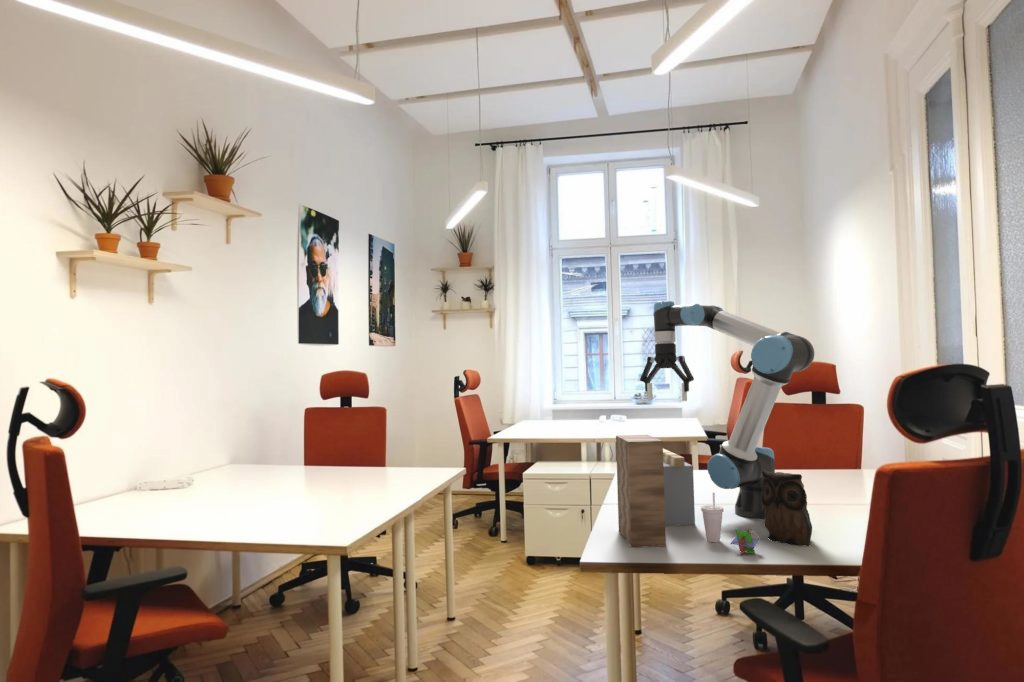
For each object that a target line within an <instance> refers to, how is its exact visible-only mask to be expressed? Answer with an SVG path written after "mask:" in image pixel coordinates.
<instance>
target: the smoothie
mask: <svg viewBox="0 0 1024 682" xmlns="http://www.w3.org/2000/svg"><path fill="white" fill-rule="evenodd" d="M715 497H716V496H715V492H712V505H710V504H707V505H702V506H700V507H701V508H700V511H701V512H702V519H703V525H704V532H705V536H706V537H705V538H706V541H707V542H709V543H719V541H720V542H721V536H722V535H721V533H722V532H721V531H722V523H723V522H722V521H723V512H724V507H723V506H720V505H716V499H715Z"/></svg>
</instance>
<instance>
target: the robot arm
mask: <svg viewBox="0 0 1024 682" xmlns="http://www.w3.org/2000/svg"><path fill="white" fill-rule="evenodd" d="M653 321H654V322H653V323H654V343H655V345H654V353H655V356H654V357H653V356H647V358H646V364H645V366H644V368H643V370H642V373H641V375H640V378H639V381H640V382H643V383H644V388H645V389H644V391H645V392H646V393H647V396H646V397H647V401H649V402H651V401H653V400H654V399H653V383H652V380H653V379H654V377H656V375H657V373H658V372H659V370H661V369H671V370H672V371H673V372H675V374H677V376H678V377H679V379H681V381H682V382H681V402H687V401H688V392H689V391H690V382H692V381H694V380H695V379H694V376H693V375H692V372H691V370H690V368H689V366H688V365H687V362H686V359H685V357H686V356H685V355H678V356H677V355H676V354H677V346H676V345H677V344H676V327H683V326H692V327H693V326H694V327H697V326H698V327H707V328H710V329H711V330H714V331H718V332H720V333H721V334H725V335H727V336H729V337H732V338H734V339H736V340H739V341H741V342H744V343H746V344H749V345H750V346H752V348H751V352H750V359H751V360H752V361H751V363H752V368H751V372H752V374H753V375H754V376H753V379H752V382H751V385H750V387H749V389H748V392H747V394H746V397H745V399H744V402H743V404H742V407H741V410H740V412H739V415H738V417H737V419H736V422H735V425H734V427H733V430H732V432H731V435H730V437H729V440H725V441H723V442H722V444H721V447H720V449H719V452H718V453H715V454H714V455H712V456H711V457H710V458H709V460H708V461H707V473H708V475H709V478H710V479H711V481H712V483H713V484H714V485H716V487H718V488H720V489H723V490H734V489H737V488H739V492H738V494H737V498H736V501H735V505H734V513H735V514H736V515H738V516H741V515H742V517H747V518H753V517H754V518H755V519H765V507H764V505H763V503H762V495H763V474H762V471H763V470H765V471H767V472H774V473H776V471H775V461H776V459H775V453H774V452H775V451H774V450H773V449H772V448H771V447H764V446H758V444H759V442H760V439H761V437H762V435H763V433H764V430H765V428H766V425H767V422H768V420H769V417H770V415H771V413H772V410H773V408H774V405H775V403H776V401H777V398H778V396H779V393H780V391H781V390H782V387H783V386H785V385H787V384H789V383H790V380H791V379H792V375H793V373H798V372H802V371H804V370H806V369H807V368H809V367H810V366H811V364H813V362H814V360H815V349H814V346H813V344H812V343H811V342H810V341H809V339H807V338H805V337H803V336H800V335H796V334H793V333H790V332H789V331H782V332H779V331H777V330H774V329H772V328H769V327H768V326H767V327H766V326H765V325H761V324H760V323H756V322H754V321H751V320H748V319H746V318H743V317H741V316H739V315H735V314H733V313H730V312H728V311H725V310H724V309H723V308H722V307H720V306H716V305H701V304H699V303H685V304H679V305H675V302H674V301H673V300H661V301H659V300H658V301H656V302H655V303H654V304H653ZM676 362H679V364H680V366H681V368H680V367H679V366H678V365H677V363H676ZM654 363H655V365H654V367H653V368H652V366H653V364H654ZM651 369H652V370H651ZM681 369H682V370H681ZM683 372H684V373H683Z"/></svg>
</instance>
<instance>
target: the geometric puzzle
mask: <svg viewBox="0 0 1024 682" xmlns="http://www.w3.org/2000/svg"><path fill="white" fill-rule="evenodd" d="M733 534H735V537H734V538H732V539H731V541H730V542H729V544H730V545H731V546H734V549H735V548H736V549H737V547H735V545H736V546H738V548H739V549H738V550H739V552H740V551H741V552H740V556H744V555H748V553H749V554H756V551H757V550H755V549H756V548H755V547H756V546H758V545H757V544H759V542H760V540H761V539H760V537H759V536H758V534H757V532H755V531H754V530H752V529H750V528H749V527H748V528H747V527H746V529H745V530H741V529H735V530H734V533H733ZM746 553H747V554H746Z"/></svg>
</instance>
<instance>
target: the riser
mask: <svg viewBox="0 0 1024 682" xmlns="http://www.w3.org/2000/svg"><path fill="white" fill-rule="evenodd" d="M684 462H685V467H674V466H672V465H670V464H668V463H666V462H664V461H663V467H664V498H665V525H674V526H695V525H696V517H695V515H696V514H695V512H696V511H695V488H694V487H695V485H694V484H695V483H694V465H693V464H690V463H689V462H686V461H684ZM694 524H695V525H694Z"/></svg>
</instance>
